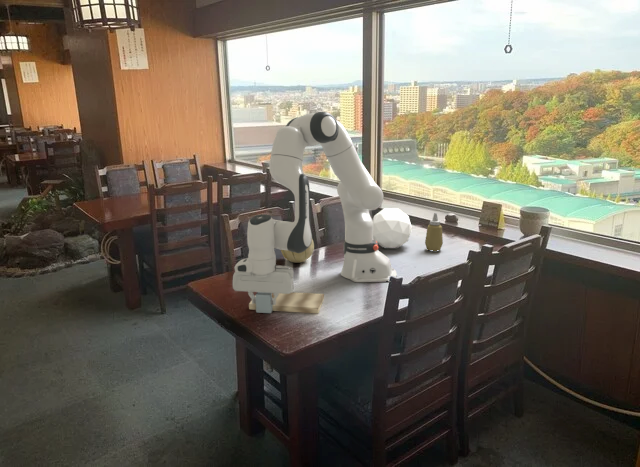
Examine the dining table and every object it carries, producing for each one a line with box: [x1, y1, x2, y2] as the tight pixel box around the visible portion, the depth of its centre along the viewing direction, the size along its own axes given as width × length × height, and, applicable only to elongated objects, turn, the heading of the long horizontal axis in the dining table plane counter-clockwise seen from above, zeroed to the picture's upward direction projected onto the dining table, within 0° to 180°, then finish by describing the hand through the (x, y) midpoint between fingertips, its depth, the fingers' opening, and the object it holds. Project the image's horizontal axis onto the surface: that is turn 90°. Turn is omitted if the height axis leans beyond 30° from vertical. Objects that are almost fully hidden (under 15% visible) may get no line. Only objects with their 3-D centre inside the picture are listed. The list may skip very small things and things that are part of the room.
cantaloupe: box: [280, 238, 315, 264], centre depth 210 cm, size 15×15×15 cm
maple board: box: [248, 291, 325, 314], centre depth 168 cm, size 24×12×2 cm, turn 81°
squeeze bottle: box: [424, 212, 444, 251], centre depth 222 cm, size 8×8×18 cm
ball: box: [372, 207, 413, 249], centre depth 228 cm, size 19×20×20 cm
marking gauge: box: [254, 292, 274, 314], centre depth 166 cm, size 5×14×6 cm, turn 171°
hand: (264, 303), depth 161 cm, fingers closed on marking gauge, 5 cm apart
